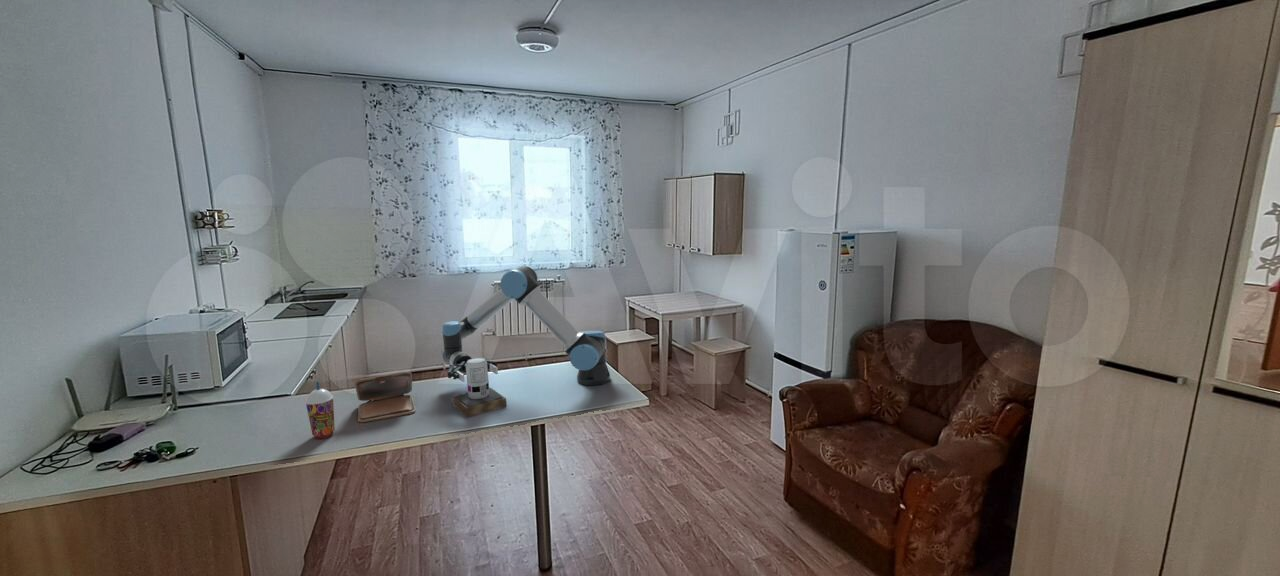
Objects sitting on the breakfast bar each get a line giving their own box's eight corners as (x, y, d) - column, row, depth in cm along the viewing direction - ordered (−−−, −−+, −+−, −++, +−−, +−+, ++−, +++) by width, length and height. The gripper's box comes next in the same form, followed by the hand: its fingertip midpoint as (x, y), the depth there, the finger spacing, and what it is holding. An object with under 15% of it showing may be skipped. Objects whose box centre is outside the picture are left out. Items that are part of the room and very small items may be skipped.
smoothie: (317, 442, 174) (310, 387, 171) (305, 437, 179) (298, 383, 175) (342, 433, 181) (336, 380, 178) (330, 428, 186) (323, 376, 182)
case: (413, 396, 217) (409, 360, 214) (416, 413, 198) (412, 374, 196) (358, 406, 207) (354, 369, 205) (357, 425, 189) (352, 384, 186)
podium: (490, 395, 216) (490, 386, 215) (506, 406, 204) (505, 397, 203) (453, 404, 206) (452, 395, 206) (467, 417, 194) (466, 407, 193)
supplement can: (464, 398, 202) (460, 362, 200) (477, 391, 210) (474, 356, 207) (480, 400, 199) (477, 364, 197) (493, 393, 207) (491, 358, 204)
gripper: (490, 364, 225) (510, 376, 208) (432, 377, 209) (449, 391, 193) (489, 348, 224) (509, 359, 207) (430, 359, 208) (447, 372, 192)
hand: (480, 374), depth 200 cm, fingers open, 13 cm apart
